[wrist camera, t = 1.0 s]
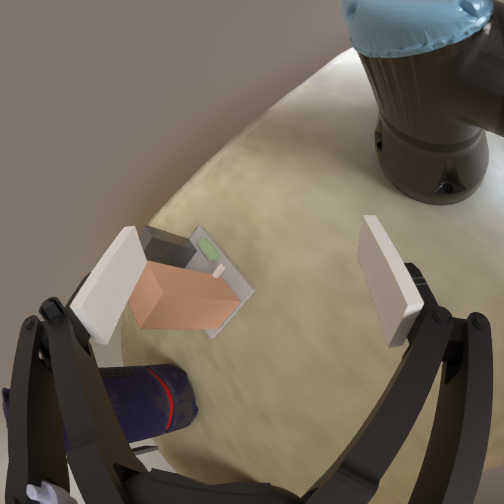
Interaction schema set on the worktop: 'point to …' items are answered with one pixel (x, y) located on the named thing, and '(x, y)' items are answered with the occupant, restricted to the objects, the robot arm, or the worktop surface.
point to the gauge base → (209, 261)
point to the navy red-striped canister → (143, 401)
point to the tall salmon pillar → (181, 298)
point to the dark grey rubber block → (166, 247)
